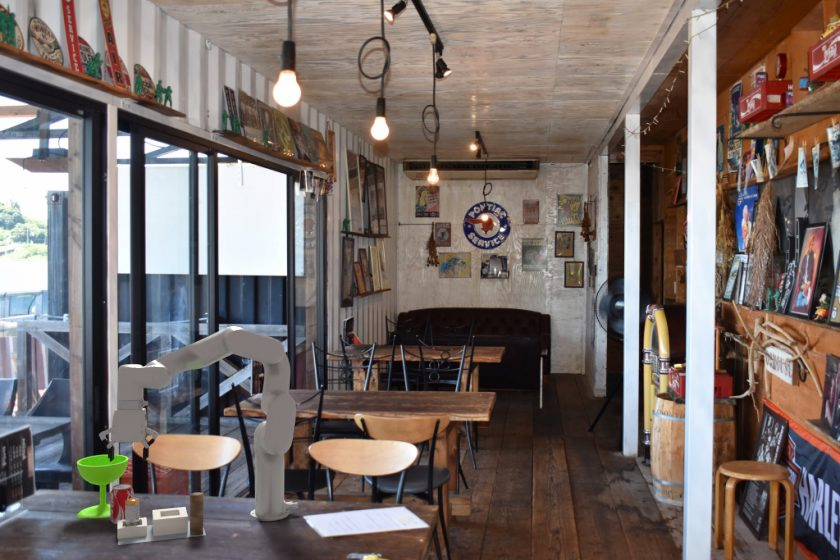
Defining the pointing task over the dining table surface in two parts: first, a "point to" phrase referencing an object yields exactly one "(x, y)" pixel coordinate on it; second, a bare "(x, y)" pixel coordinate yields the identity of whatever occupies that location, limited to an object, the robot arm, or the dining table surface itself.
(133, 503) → the pin
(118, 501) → the soda can
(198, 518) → the dowel
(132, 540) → the dock station
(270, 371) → the robot arm
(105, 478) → the wineglass
